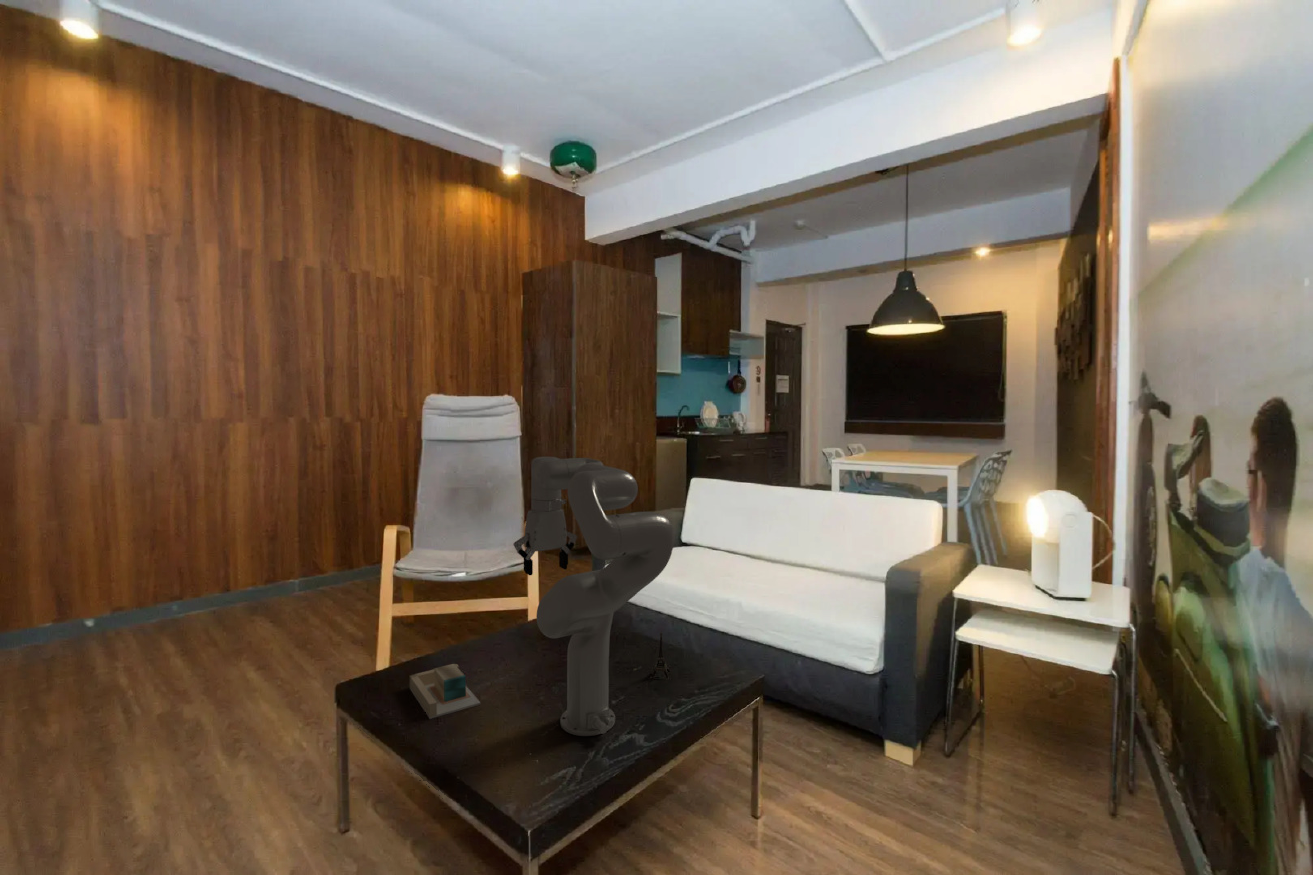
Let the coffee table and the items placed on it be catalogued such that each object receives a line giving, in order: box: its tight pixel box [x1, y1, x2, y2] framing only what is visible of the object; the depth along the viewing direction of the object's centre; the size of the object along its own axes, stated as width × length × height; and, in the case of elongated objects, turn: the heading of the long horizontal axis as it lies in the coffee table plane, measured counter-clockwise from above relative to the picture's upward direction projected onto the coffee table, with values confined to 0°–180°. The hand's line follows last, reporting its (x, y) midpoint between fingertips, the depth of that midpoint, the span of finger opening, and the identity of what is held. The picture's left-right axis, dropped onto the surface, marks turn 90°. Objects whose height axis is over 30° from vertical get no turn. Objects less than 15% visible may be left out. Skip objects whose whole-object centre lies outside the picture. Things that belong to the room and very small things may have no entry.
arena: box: [409, 663, 481, 720], centre depth 152 cm, size 18×12×4 cm, turn 36°
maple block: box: [433, 663, 467, 702], centre depth 153 cm, size 5×9×5 cm, turn 36°
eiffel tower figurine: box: [632, 631, 670, 679], centre depth 166 cm, size 15×10×13 cm
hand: (546, 571), depth 157 cm, fingers open, 9 cm apart
